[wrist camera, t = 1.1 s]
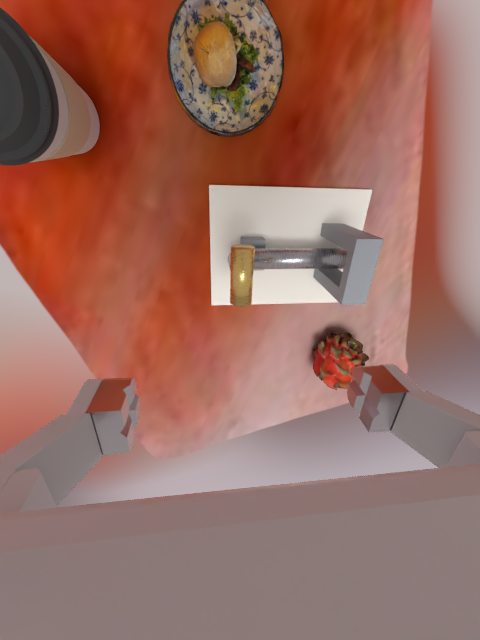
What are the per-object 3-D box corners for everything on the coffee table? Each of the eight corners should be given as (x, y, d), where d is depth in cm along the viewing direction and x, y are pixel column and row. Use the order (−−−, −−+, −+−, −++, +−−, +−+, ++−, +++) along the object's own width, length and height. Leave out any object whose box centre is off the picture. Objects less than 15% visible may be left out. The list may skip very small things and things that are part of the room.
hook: (224, 274, 38) (231, 306, 29) (224, 229, 35) (232, 250, 26) (353, 272, 40) (397, 302, 31) (364, 230, 37) (415, 250, 28)
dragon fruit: (330, 312, 47) (327, 359, 54) (300, 340, 43) (301, 387, 50) (380, 331, 41) (369, 381, 49) (352, 365, 37) (345, 414, 45)
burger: (268, 145, 33) (284, 139, 26) (166, 126, 30) (157, 114, 24) (291, 4, 27) (320, -48, 21) (169, -32, 25) (158, -102, 18)
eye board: (211, 302, 41) (214, 339, 32) (208, 184, 34) (211, 190, 25) (342, 299, 44) (378, 333, 35) (368, 189, 36) (423, 196, 27)
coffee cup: (23, 36, 26) (-160, -99, 13) (121, 96, 29) (54, 36, 16) (9, 137, 29) (-146, 113, 16) (98, 181, 32) (27, 191, 19)
